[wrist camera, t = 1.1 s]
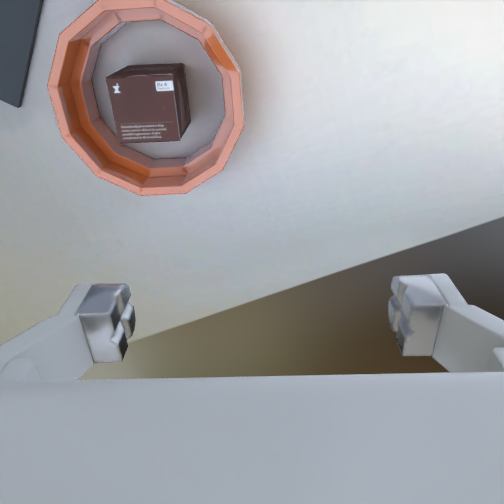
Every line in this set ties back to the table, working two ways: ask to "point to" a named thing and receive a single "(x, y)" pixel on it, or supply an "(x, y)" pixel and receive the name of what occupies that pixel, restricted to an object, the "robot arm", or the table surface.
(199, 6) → the table surface
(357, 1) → the table surface
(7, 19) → the mat
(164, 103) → the box
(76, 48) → the ring
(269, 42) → the table surface
